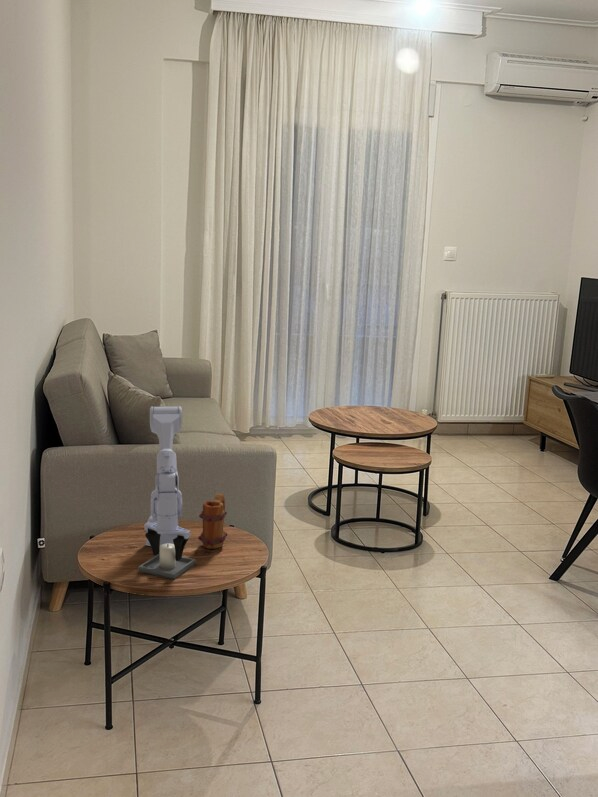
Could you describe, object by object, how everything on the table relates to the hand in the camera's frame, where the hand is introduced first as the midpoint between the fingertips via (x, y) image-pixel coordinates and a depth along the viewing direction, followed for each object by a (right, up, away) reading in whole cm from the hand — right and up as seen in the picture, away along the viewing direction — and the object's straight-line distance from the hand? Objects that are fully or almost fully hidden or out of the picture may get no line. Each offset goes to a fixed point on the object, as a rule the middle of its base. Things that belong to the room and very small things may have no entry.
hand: (167, 557), depth 236 cm
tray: (0, -3, +1) cm, 3 cm away
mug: (+12, 0, +20) cm, 23 cm away
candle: (0, -3, +1) cm, 3 cm away
